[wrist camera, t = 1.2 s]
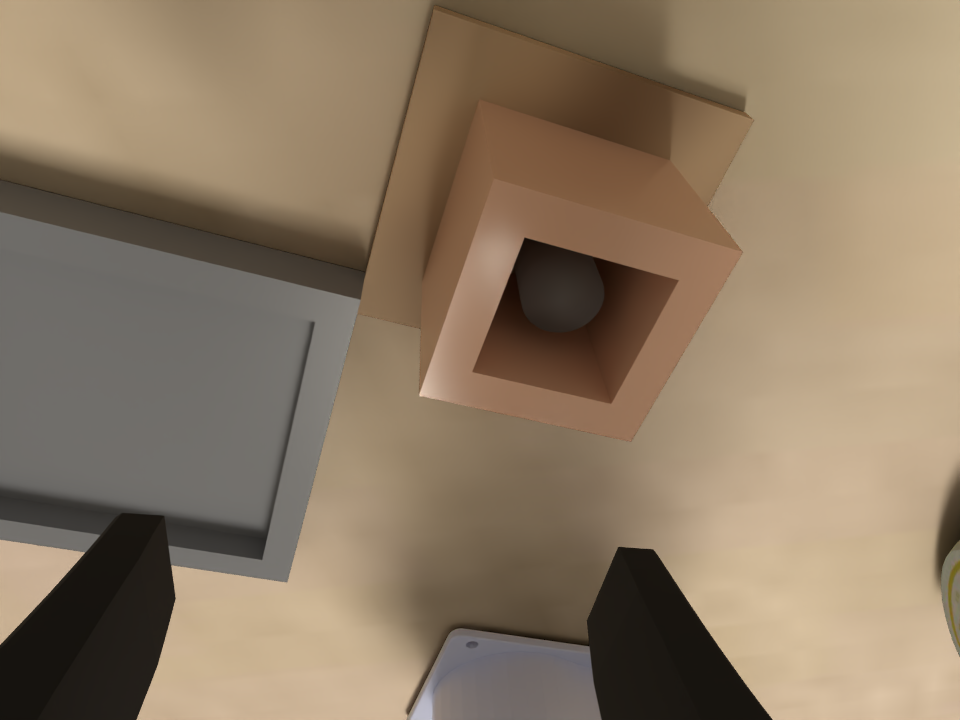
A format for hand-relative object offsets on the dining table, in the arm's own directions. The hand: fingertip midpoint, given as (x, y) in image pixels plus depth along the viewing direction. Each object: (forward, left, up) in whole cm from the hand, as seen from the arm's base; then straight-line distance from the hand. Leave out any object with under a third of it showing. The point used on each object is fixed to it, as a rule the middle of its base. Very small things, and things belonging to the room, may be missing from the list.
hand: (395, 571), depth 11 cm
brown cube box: (-3, -3, -9) cm, 10 cm away
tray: (+7, +6, -10) cm, 14 cm away
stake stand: (-3, -3, -10) cm, 11 cm away
